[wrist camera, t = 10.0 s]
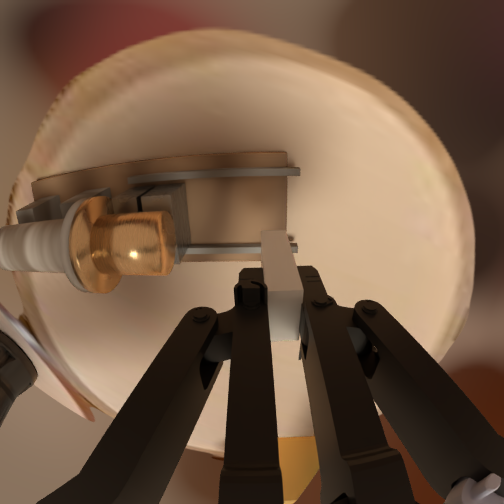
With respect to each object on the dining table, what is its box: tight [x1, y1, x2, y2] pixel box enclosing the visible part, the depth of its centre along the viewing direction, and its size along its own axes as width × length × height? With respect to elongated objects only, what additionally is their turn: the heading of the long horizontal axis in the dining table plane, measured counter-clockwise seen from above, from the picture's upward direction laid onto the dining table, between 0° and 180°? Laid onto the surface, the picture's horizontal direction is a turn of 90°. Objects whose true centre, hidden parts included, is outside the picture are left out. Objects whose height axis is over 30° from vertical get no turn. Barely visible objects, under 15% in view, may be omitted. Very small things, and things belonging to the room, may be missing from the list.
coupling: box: [69, 183, 191, 293], centre depth 20 cm, size 6×7×10 cm
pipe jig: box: [0, 152, 300, 293], centre depth 20 cm, size 29×10×12 cm, turn 91°
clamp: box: [278, 436, 320, 504], centre depth 40 cm, size 20×9×16 cm, turn 88°
